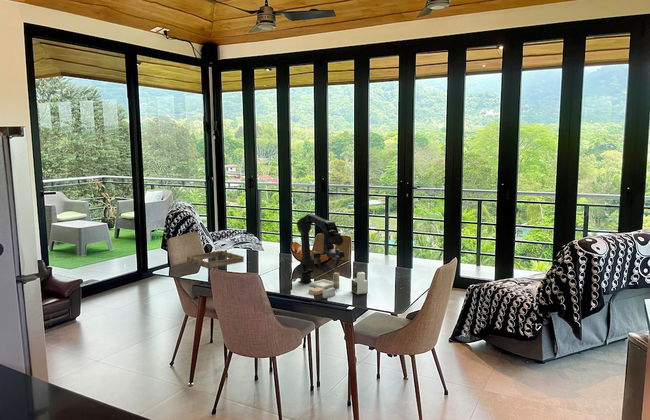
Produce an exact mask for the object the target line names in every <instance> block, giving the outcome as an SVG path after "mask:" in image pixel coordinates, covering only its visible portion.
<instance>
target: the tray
mask: <svg viewBox="0 0 650 420" xmlns="http://www.w3.org/2000/svg"><path fill="white" fill-rule="evenodd" d="M309 286H310V287H312V288H316V287H319V288H323V289H325V290H327V289H330V288H334V281H333V280H328V279H324V278H323V279H319V280H316V281H312V282H311V283H309Z"/></svg>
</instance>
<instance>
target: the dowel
mask: <svg viewBox="0 0 650 420" xmlns="http://www.w3.org/2000/svg"><path fill="white" fill-rule="evenodd" d="M333 282H334V287H333V288H335V290H338V289H340V272H333Z"/></svg>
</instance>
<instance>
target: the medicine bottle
mask: <svg viewBox="0 0 650 420" xmlns="http://www.w3.org/2000/svg"><path fill="white" fill-rule="evenodd" d="M351 292H353V293H355V295H356V294H357V295H362V294H367V293H368V292H369V281H368V280H367V279H366V273H365V272H364V271H363V270H362V271H361V270H358V271H355V272H354V278H352V279H351Z"/></svg>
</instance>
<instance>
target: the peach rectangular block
mask: <svg viewBox="0 0 650 420" xmlns="http://www.w3.org/2000/svg"><path fill="white" fill-rule="evenodd" d="M323 290H326V289H323V288H319V287H312V288H308V294H309V295H310V294H311V295H314V296H318V295H321V294H322V295H323Z"/></svg>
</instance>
